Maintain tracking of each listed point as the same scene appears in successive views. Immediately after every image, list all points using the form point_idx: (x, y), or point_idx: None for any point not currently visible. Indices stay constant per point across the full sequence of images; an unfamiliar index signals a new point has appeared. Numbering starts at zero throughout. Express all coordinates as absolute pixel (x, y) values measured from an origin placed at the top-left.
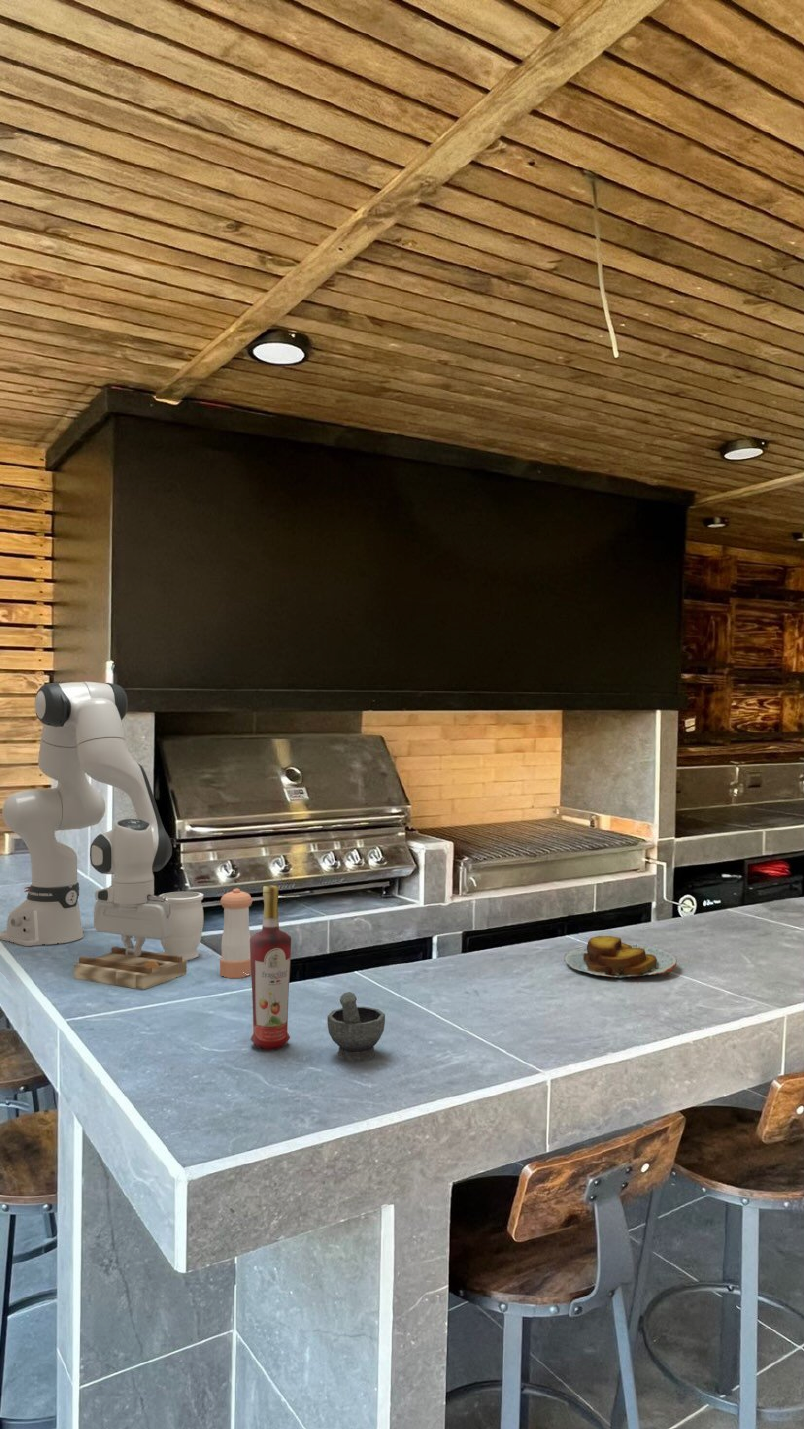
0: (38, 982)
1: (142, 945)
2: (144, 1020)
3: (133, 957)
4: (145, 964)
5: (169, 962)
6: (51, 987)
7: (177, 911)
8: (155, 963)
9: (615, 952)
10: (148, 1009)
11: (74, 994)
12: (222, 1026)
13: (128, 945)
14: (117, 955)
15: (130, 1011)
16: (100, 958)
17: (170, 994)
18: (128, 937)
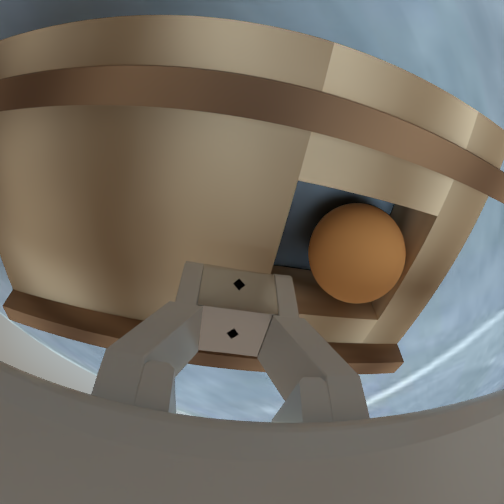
0: (27, 328)
1: (315, 330)
2: (400, 413)
3: (141, 127)
4: (348, 300)
5: (449, 189)
6: (86, 355)
7: None
8: (398, 277)
9: None
10: (400, 393)
11: (186, 385)
12: (490, 382)
13: (188, 351)
14: (24, 135)
15: (370, 407)
16: (11, 224)
17: (439, 331)
18: (173, 410)
